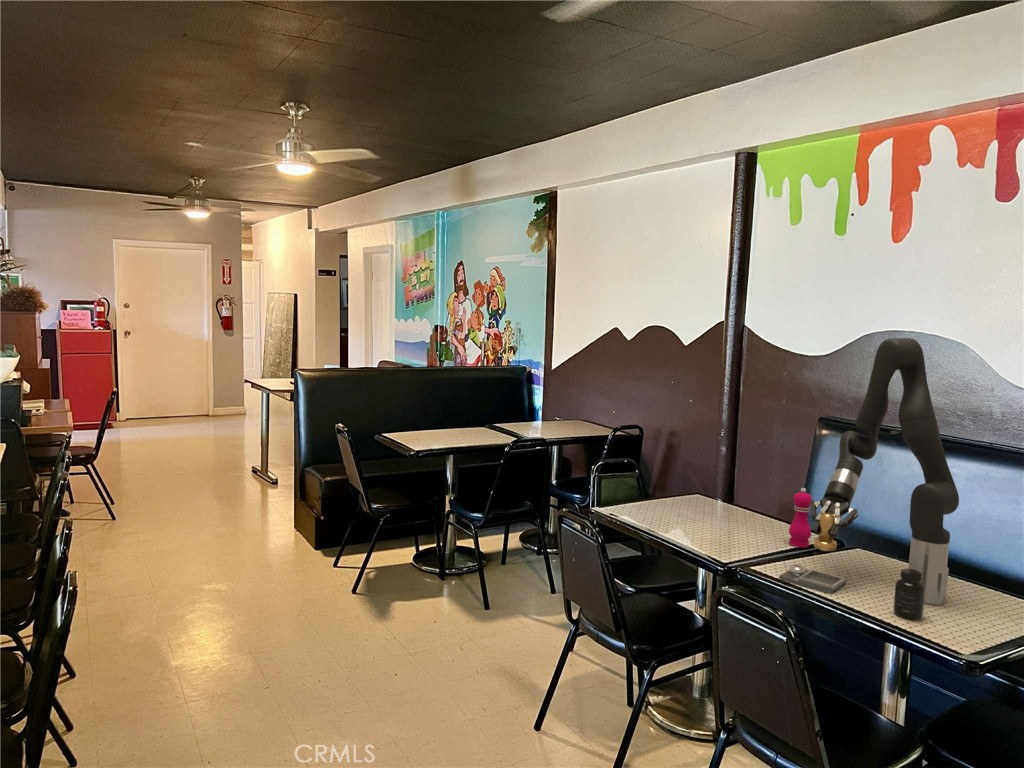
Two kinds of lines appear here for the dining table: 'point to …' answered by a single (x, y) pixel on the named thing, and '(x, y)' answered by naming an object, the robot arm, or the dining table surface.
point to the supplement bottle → (909, 595)
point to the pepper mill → (800, 520)
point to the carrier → (813, 579)
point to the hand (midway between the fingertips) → (823, 534)
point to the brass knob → (825, 533)
